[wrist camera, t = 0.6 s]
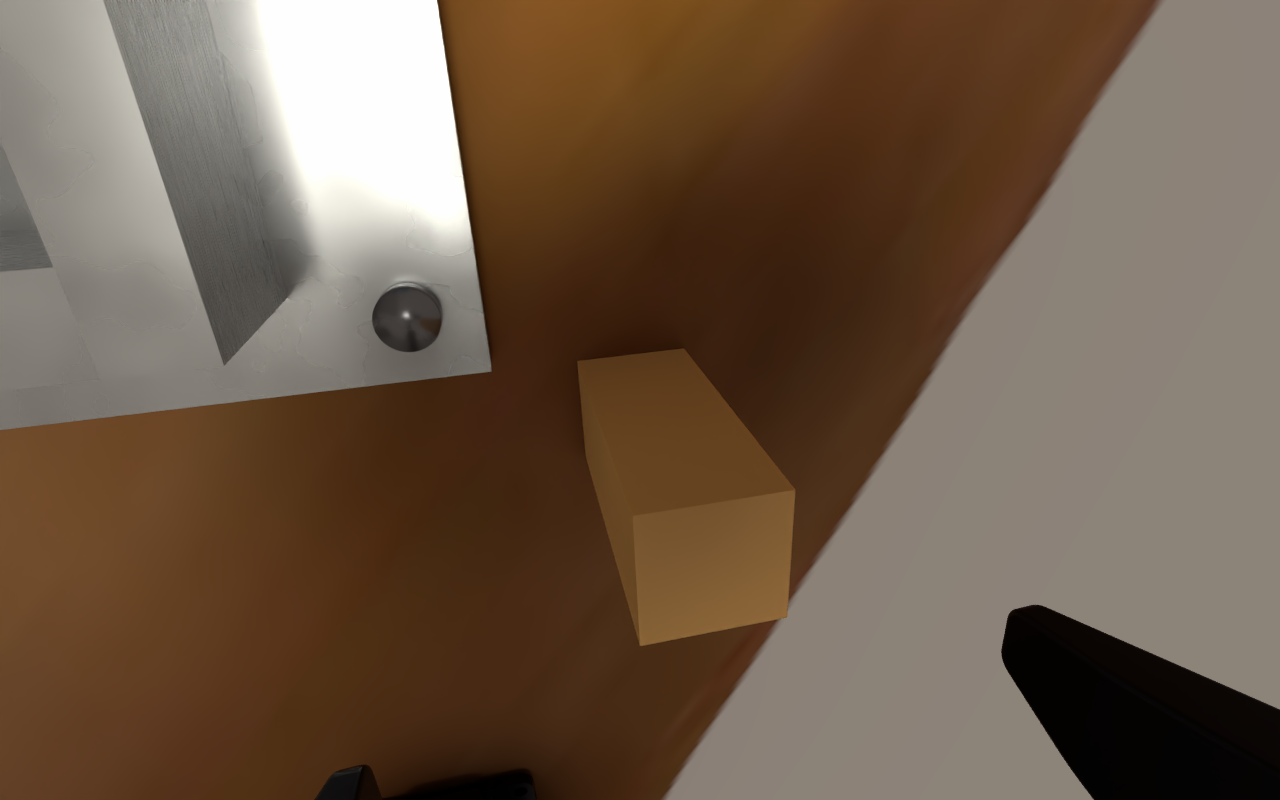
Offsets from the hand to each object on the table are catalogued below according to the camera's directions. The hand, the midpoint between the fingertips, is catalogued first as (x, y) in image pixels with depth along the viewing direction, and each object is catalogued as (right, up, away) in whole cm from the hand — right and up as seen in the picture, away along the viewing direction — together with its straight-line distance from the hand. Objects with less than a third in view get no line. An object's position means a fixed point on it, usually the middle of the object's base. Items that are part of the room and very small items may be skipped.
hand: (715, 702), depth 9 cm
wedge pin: (-1, +4, +11) cm, 12 cm away
